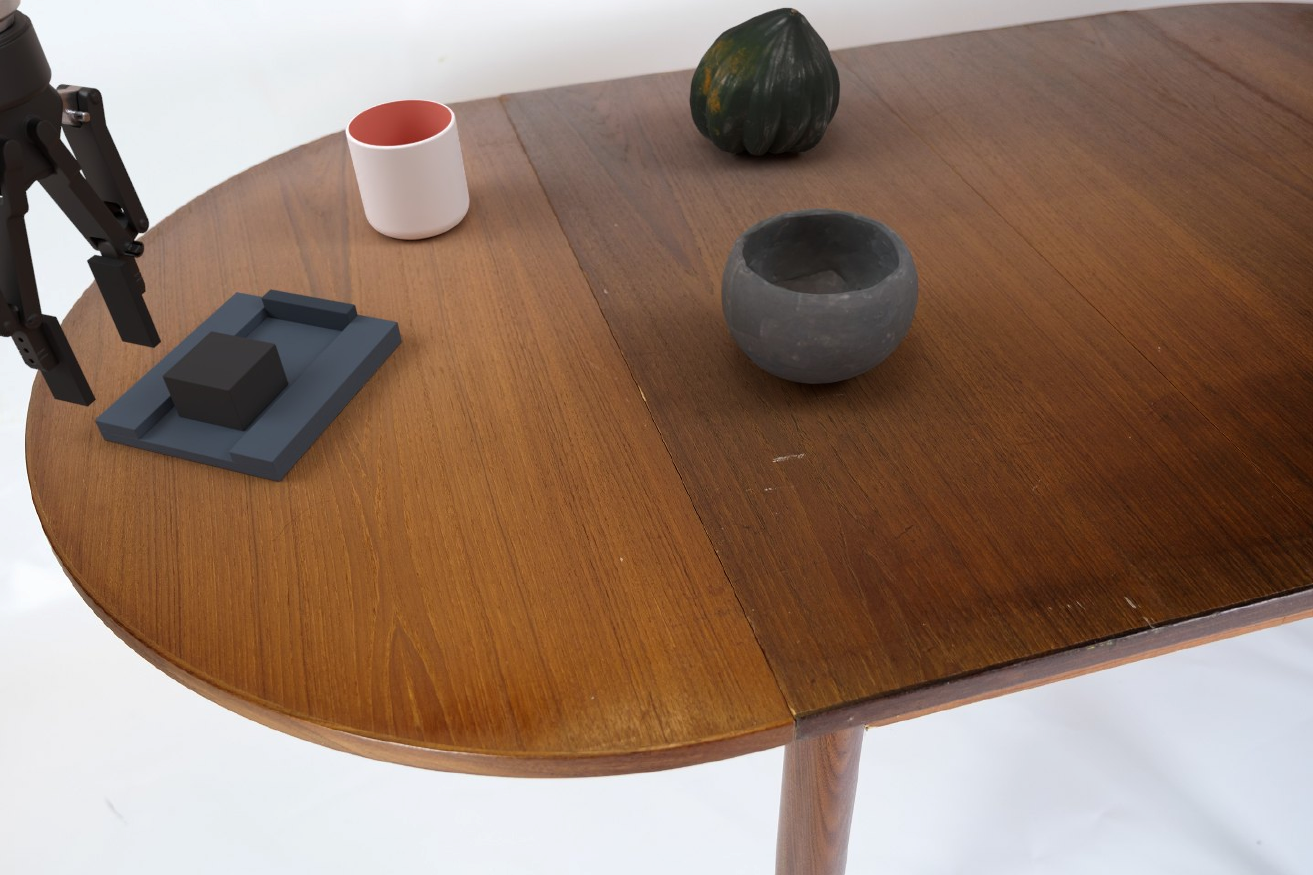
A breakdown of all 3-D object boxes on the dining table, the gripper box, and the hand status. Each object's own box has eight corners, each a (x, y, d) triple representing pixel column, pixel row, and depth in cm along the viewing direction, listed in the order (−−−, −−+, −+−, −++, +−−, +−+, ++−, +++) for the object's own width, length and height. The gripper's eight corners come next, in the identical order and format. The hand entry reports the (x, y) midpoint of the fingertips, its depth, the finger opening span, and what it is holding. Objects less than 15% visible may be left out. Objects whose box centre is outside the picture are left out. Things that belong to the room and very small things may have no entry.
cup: (424, 255, 105) (403, 157, 98) (346, 228, 109) (322, 132, 103) (492, 207, 111) (477, 112, 104) (416, 184, 115) (397, 90, 109)
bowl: (745, 429, 84) (746, 319, 78) (705, 317, 95) (703, 212, 89) (936, 402, 86) (953, 291, 79) (875, 294, 97) (885, 189, 90)
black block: (244, 431, 85) (228, 390, 83) (179, 416, 87) (161, 375, 84) (289, 384, 89) (275, 343, 87) (226, 371, 91) (211, 330, 88)
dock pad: (279, 482, 82) (268, 451, 80) (103, 439, 87) (89, 410, 85) (402, 341, 95) (395, 311, 93) (243, 310, 99) (233, 282, 97)
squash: (658, 73, 120) (702, -5, 106) (781, 49, 125) (839, -29, 111) (702, 196, 119) (752, 134, 105) (824, 168, 124) (888, 104, 109)
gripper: (-145, 108, 52) (53, 472, 68) (126, -31, 66) (240, 301, 81) (-259, 91, 55) (-43, 448, 70) (25, -40, 68) (155, 285, 83)
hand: (109, 369), depth 75 cm, fingers open, 6 cm apart
